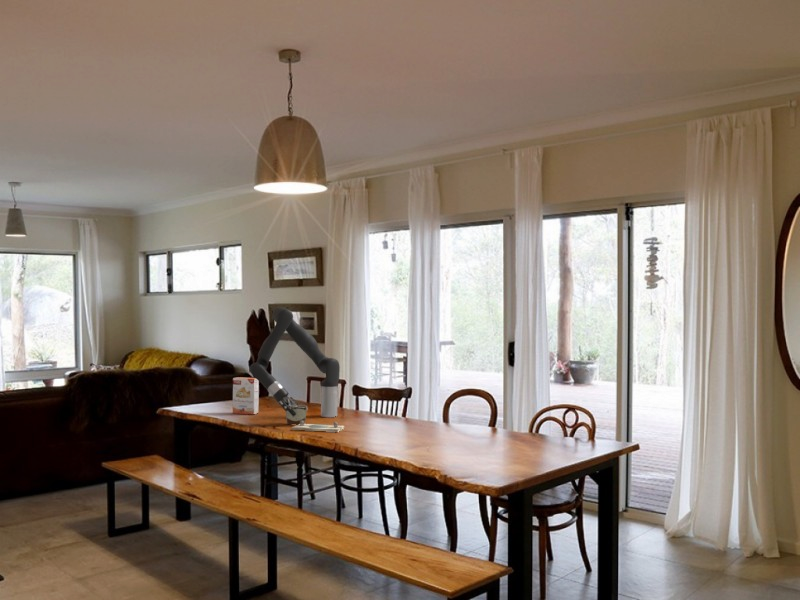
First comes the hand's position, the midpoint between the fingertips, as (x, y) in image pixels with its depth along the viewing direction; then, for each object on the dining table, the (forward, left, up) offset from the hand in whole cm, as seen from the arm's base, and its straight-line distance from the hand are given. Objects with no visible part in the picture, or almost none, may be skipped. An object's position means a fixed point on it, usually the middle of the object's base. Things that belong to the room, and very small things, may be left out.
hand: (297, 414), depth 361 cm
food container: (0, 0, -6) cm, 6 cm away
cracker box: (-27, -42, -6) cm, 51 cm away
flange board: (+12, +16, -5) cm, 20 cm away
